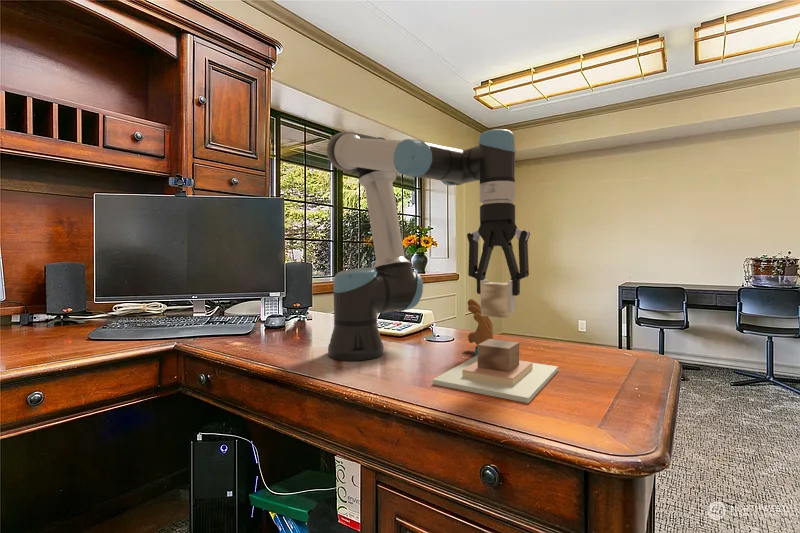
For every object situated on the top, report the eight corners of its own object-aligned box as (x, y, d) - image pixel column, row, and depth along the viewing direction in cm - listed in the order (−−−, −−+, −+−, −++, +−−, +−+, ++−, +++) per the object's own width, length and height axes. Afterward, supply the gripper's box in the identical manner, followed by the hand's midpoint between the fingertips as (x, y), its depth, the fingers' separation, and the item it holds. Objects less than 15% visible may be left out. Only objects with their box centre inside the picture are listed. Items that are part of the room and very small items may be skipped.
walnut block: (477, 367, 88) (477, 344, 88) (489, 360, 94) (489, 338, 94) (508, 372, 85) (509, 348, 84) (519, 364, 90) (519, 342, 90)
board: (432, 384, 85) (432, 372, 85) (477, 358, 105) (477, 349, 105) (528, 403, 74) (528, 389, 74) (558, 370, 94) (558, 360, 94)
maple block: (481, 315, 88) (481, 283, 88) (490, 312, 93) (490, 282, 92) (505, 317, 85) (505, 284, 85) (514, 314, 90) (514, 283, 89)
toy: (467, 348, 116) (467, 296, 116) (492, 349, 115) (492, 296, 115) (467, 359, 104) (467, 301, 104) (495, 360, 103) (495, 302, 103)
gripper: (451, 205, 90) (452, 309, 91) (535, 198, 80) (536, 315, 80) (465, 208, 96) (466, 305, 97) (545, 201, 86) (545, 310, 87)
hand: (497, 309), depth 89 cm, fingers closed on maple block, 5 cm apart
